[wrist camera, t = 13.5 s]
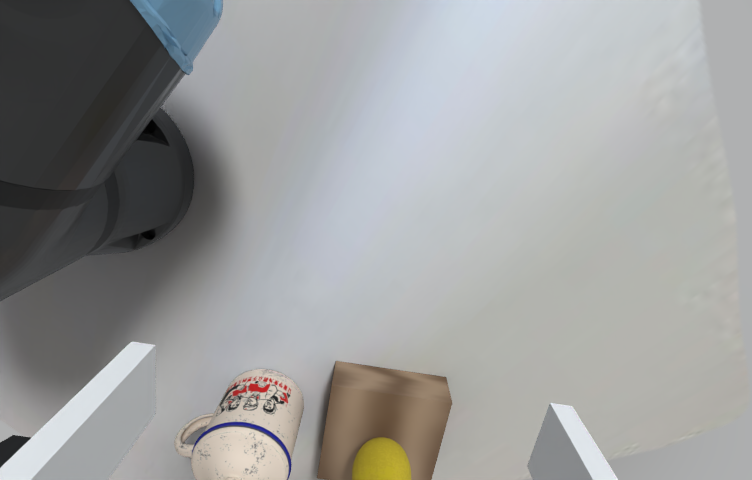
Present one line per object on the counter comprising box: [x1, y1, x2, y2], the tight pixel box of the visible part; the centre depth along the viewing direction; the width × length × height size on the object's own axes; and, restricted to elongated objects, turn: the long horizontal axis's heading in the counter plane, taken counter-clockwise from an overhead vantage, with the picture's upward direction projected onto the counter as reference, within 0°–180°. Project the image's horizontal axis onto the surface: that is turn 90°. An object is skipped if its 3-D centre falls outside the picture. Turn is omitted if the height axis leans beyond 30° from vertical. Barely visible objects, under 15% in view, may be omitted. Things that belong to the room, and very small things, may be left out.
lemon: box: [352, 437, 411, 480], centre depth 39 cm, size 6×6×8 cm
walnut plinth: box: [317, 361, 452, 480], centre depth 45 cm, size 12×12×4 cm
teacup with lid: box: [174, 369, 304, 480], centre depth 41 cm, size 12×9×12 cm
